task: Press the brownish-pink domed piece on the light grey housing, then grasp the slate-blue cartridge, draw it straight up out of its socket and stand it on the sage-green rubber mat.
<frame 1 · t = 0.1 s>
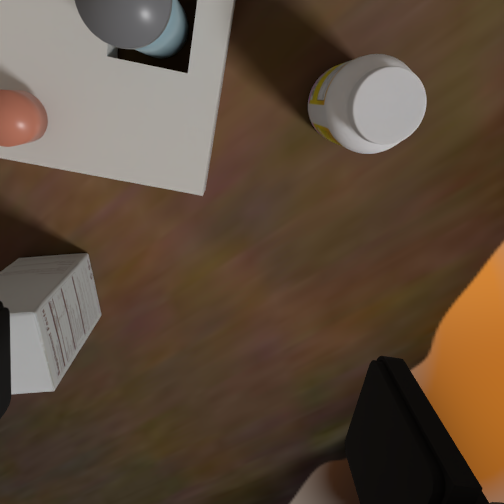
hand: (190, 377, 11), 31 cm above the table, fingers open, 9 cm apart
housing: (120, 56, 36), on the table
brownish-pink domed piece: (20, 117, 33), point 5 cm above the table, slide at 0.0 cm
supplement bottle: (342, 103, 38), on the table
supplement box: (63, 286, 44), on the table
cartridge: (159, 26, 36), resting in housing
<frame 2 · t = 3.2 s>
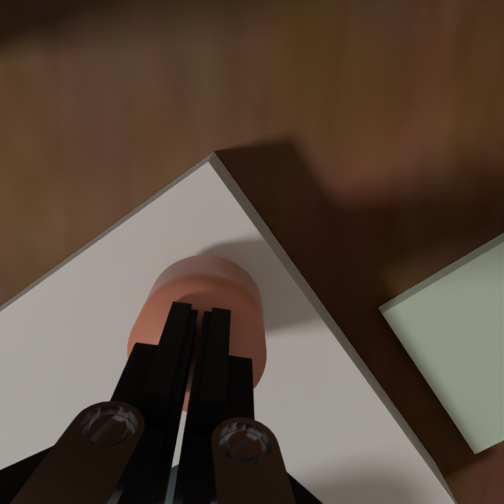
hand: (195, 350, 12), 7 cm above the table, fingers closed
housing: (188, 419, 21), on the table
brownish-pink domed piece: (205, 310, 15), point 4 cm above the table, slide at 0.7 cm, touching gripper
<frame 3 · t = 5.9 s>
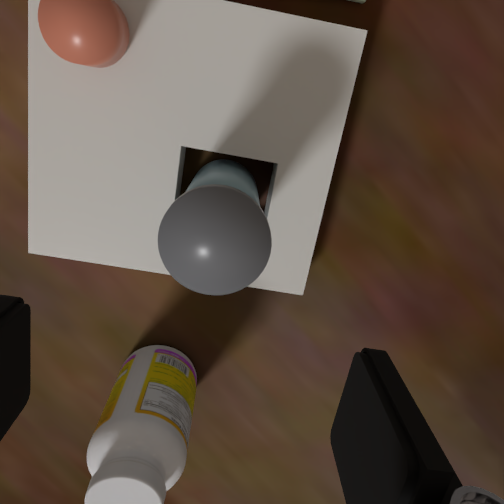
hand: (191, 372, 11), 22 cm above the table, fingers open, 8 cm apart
housing: (189, 145, 31), on the table
brownish-pink domed piece: (94, 30, 25), point 3 cm above the table, slide at 1.3 cm
supplement bottle: (161, 372, 37), on the table
cartridge: (224, 192, 32), resting in housing
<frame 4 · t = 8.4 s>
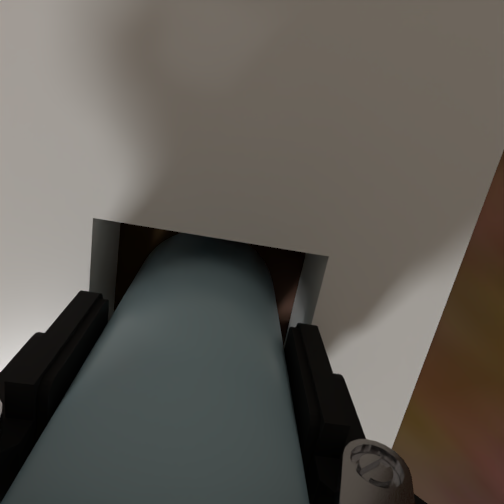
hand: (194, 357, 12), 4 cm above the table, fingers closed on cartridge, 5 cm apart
housing: (129, 202, 14), on the table
cartridge: (205, 294, 15), resting in housing, touching gripper
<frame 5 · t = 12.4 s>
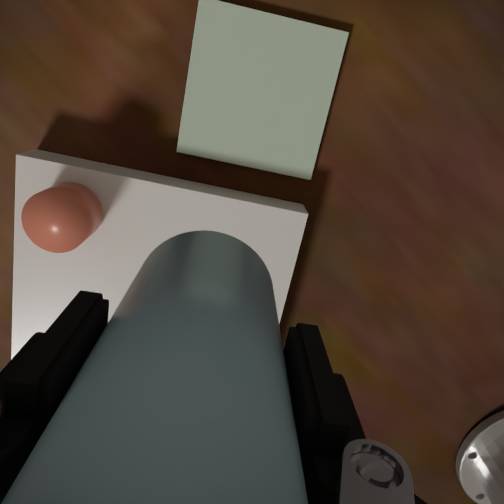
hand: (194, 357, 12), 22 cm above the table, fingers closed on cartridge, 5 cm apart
housing: (157, 285, 35), on the table
brownish-pink domed piece: (71, 211, 29), point 3 cm above the table, slide at 1.3 cm
mat: (258, 94, 30), on the table
cartridge: (205, 295, 15), point 18 cm above the table, touching gripper
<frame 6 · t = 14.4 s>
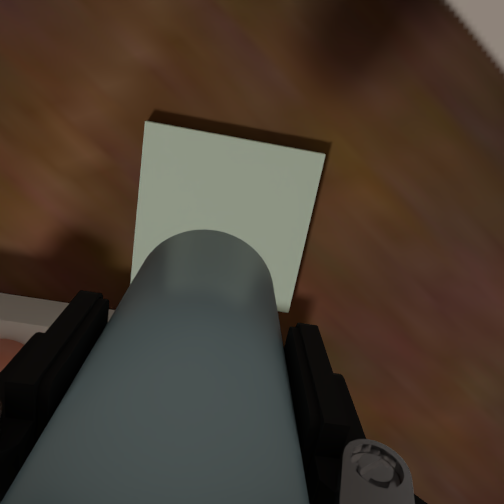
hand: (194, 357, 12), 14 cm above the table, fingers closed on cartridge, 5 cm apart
housing: (119, 422, 30), on the table
brownish-pink domed piece: (6, 370, 24), point 3 cm above the table, slide at 1.3 cm
mat: (223, 222, 25), on the table
cartridge: (205, 294, 15), point 10 cm above the table, touching gripper
when the fingers open (6 cm above the table, at t = 16.3 s): cartridge drops 1 cm, resting on mat.
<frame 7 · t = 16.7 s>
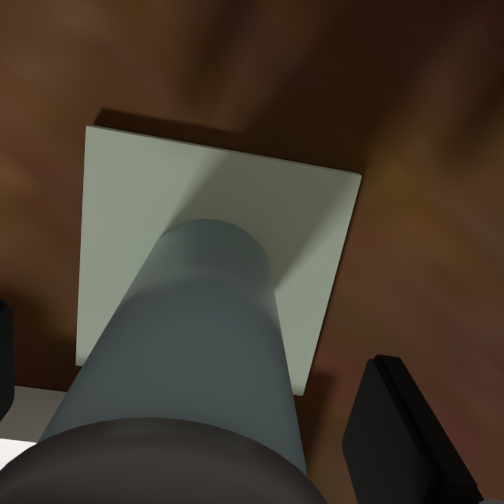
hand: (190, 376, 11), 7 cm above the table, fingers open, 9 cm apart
mat: (209, 271, 17), on the table
cartridge: (208, 279, 17), point 1 cm above the table, touching mat
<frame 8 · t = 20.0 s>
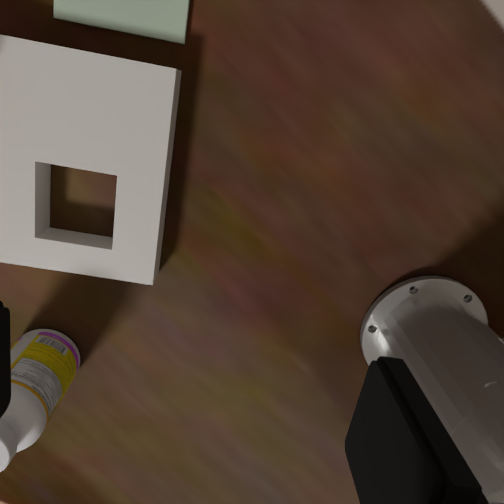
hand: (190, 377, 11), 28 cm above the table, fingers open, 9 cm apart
housing: (53, 159, 37), on the table
supplement bottle: (51, 353, 43), on the table
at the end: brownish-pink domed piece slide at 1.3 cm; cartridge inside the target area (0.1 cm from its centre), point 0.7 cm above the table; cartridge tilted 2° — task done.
